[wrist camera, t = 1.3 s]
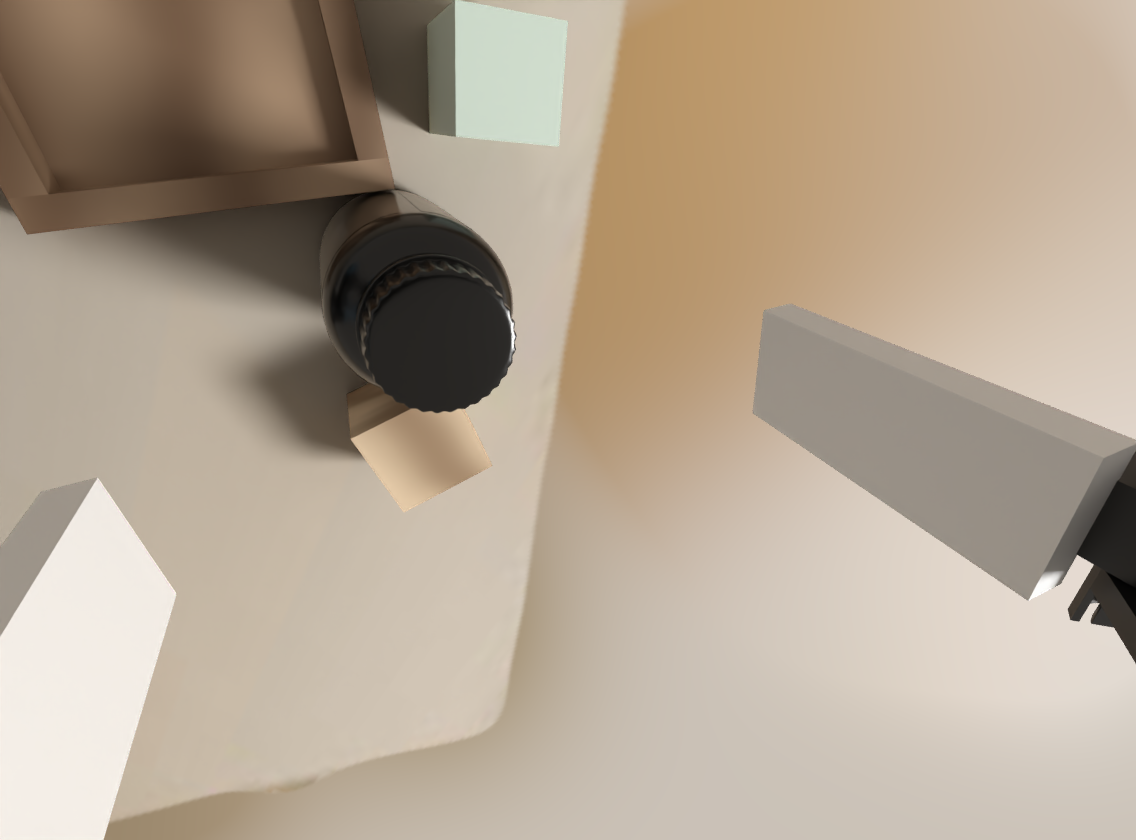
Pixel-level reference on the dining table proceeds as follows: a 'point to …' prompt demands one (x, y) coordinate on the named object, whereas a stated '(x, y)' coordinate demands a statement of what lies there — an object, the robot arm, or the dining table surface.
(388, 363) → the supplement bottle
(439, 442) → the oak block
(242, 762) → the dining table surface
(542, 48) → the sage cube
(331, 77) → the walnut tray
